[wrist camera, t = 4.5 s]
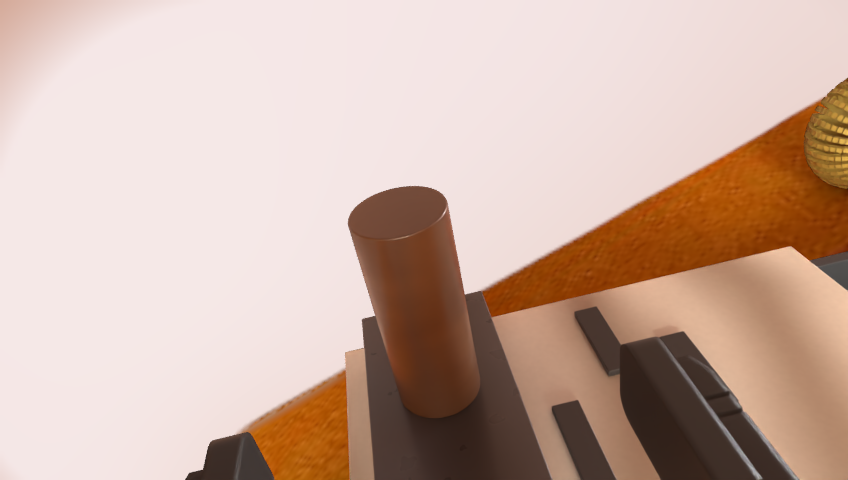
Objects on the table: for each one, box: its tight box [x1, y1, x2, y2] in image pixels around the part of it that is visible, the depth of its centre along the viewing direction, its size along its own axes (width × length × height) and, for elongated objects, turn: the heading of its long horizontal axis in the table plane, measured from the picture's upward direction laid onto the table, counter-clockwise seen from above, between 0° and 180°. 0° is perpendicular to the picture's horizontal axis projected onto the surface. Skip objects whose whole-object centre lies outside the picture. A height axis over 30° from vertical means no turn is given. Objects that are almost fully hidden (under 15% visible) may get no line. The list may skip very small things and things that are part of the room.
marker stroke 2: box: [552, 400, 617, 480], centre depth 19 cm, size 1×4×1 cm, turn 9°
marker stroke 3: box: [659, 331, 739, 401], centre depth 21 cm, size 1×4×1 cm, turn 8°
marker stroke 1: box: [574, 306, 621, 376], centre depth 23 cm, size 1×4×1 cm, turn 8°
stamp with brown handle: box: [348, 186, 553, 480], centre depth 18 cm, size 5×9×9 cm, turn 8°
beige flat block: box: [345, 246, 848, 480], centre depth 23 cm, size 20×11×6 cm, turn 98°
